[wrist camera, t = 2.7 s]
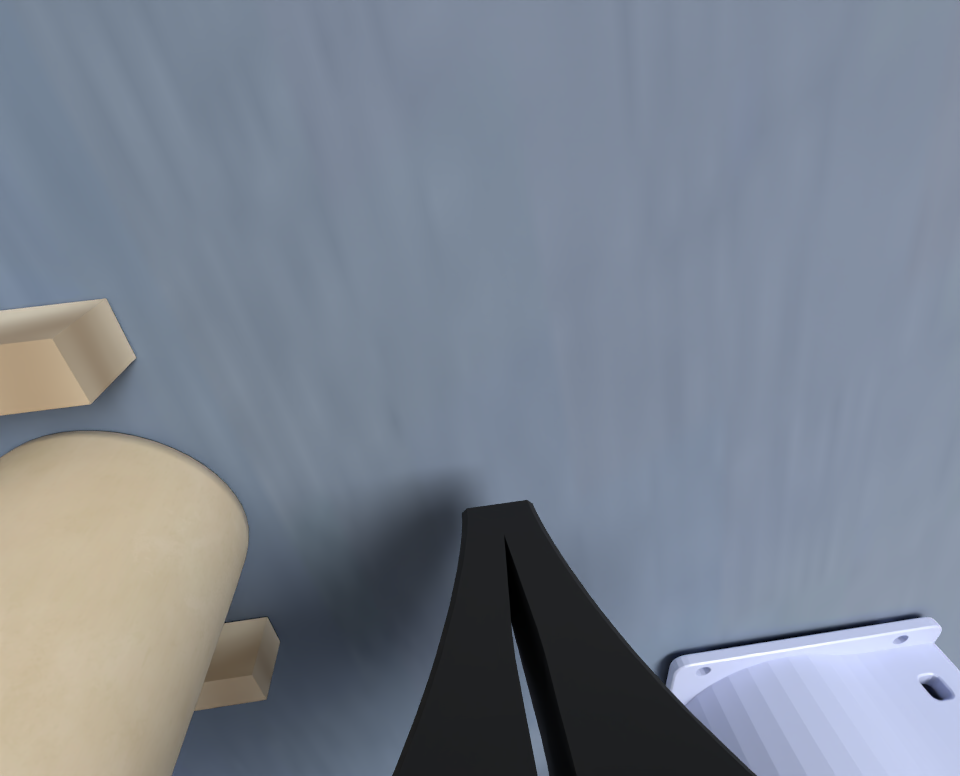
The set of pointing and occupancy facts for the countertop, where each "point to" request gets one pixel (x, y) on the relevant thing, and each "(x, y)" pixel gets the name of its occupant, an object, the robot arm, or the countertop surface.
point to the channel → (79, 381)
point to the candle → (109, 601)
